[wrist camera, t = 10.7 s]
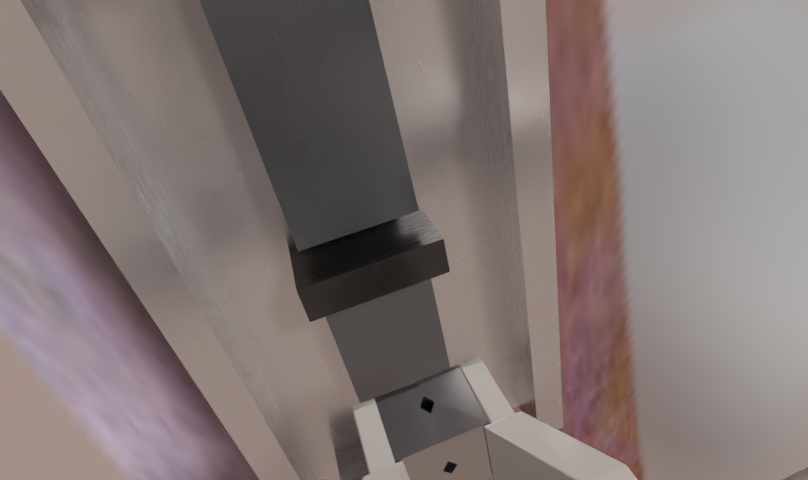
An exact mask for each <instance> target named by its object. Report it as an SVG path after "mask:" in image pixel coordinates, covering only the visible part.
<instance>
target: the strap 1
mask: <svg viewBox="0 0 808 480" xmlns="http://www.w3.org/2000/svg"><path fill="white" fill-rule="evenodd" d="M200 3H201V5H202V8H203V10H204V13H205V16H206V18H207V21H208V23H209V26H210V28H211V31H212V33H213V36H214V38H215V41H216V44H217V46H218V49H219V51H220V54H221V56H222V59H223V61H224V64H225V67H226V69H227V72H228V74H229V77H230V79H231V82H232V84H233V87H234V89H235V92H236V95H237V97H238V100H239V102H240V105H241V107H242V110H243V112H244V115H245V117H246V120H247V123H248V125H249V128H250V130H251V133H252V135H253V138H254V140H255V143H256V146H257V148H258V151H259V153H260V156H261V158H262V161H263V163H264V166H265V168H266V171H267V174H268V176H269V179H270V181H271V184H272V186H273V189H274V191H275V194H276V196H277V199H278V202H279V204H280V207H281V209H282V212H283V214H284V217H285V219H286V222H287V225H288V227H289V230H290V232H291V235H292V237H293V240H294V242H295V245H296V247H297V250H298V251H301V250H304V249H307V248H310V247H313V246H316V245H319V244H322V243H325V242H328V241H331V240H334V239H336V238H339V237H342V236H345V235H348V234H351V233H354V232H357V231H360V230H363V229H366V228H369V227H372V226H375V225H378V224H381V223H384V222H387V221H390V220H393V219H395V218H398V217H401V216H404V215H407V214H410V213H413V212H416V211H419V209H418V205H417V201H416V197H415V192H414V188H413V184H412V180H411V176H410V171H409V167H408V163H407V159H406V154H405V150H404V146H403V142H402V137H401V133H400V129H399V125H398V121H397V116H396V112H395V108H394V104H393V99H392V95H391V91H390V87H389V83H388V78H387V74H386V70H385V66H384V61H383V57H382V53H381V49H380V44H379V40H378V36H377V32H376V28H375V23H374V19H373V15H372V11H371V6H370V2H369V0H200Z"/></svg>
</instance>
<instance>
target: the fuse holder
mask: <svg viewBox="0 0 808 480" xmlns="http://www.w3.org/2000/svg"><path fill="white" fill-rule="evenodd" d="M369 2H370V6H371V11H372V15H373V19H374V23H375V28H376V32H377V36H378V40H379V44H380V49H381V53H382V57H383V61H384V66H385V70H386V74H387V78H388V83H389V87H390V91H391V95H392V99H393V104H394V108H395V112H396V116H397V121H398V125H399V129H400V133H401V137H402V142H403V146H404V150H405V154H406V159H407V163H408V167H409V171H410V176H411V180H412V184H413V188H414V192H415V197H416V201H417V205H418V209H419V211H416V212H413V213H410V214H407V215H404V216H401V217H398V218H395V219H393V220H390V221H387V222H384V223H381V224H378V225H375V226H372V227H369V228H366V229H363V230H360V231H357V232H354V233H351V234H348V235H345V236H342V237H339V238H336V239H334V240H331V241H328V242H325V243H322V244H319V245H316V246H313V247H310V248H307V249H304V250H301V251H298V250H297V247H296V245H295V242H294V240H293V237H292V235H291V232H290V230H289V227H288V225H287V222H286V219H285V217H284V214H283V212H282V209H281V207H280V204H279V202H278V199H277V196H276V194H275V191H274V189H273V186H272V184H271V181H270V179H269V176H268V174H267V171H266V168H265V166H264V163H263V161H262V158H261V156H260V153H259V151H258V148H257V146H256V143H255V140H254V138H253V135H252V133H251V130H250V128H249V125H248V123H247V120H246V117H245V115H244V112H243V110H242V107H241V105H240V102H239V100H238V97H237V95H236V92H235V89H234V87H233V84H232V82H231V79H230V77H229V74H228V72H227V69H226V67H225V64H224V61H223V59H222V56H221V54H220V51H219V49H218V46H217V44H216V41H215V38H214V36H213V33H212V31H211V28H210V26H209V23H208V21H207V18H206V16H205V13H204V10H203V8H202V5H201V3H200V0H0V90H1V92H2V93H3V95H4V96H5V98H6V99H7V101H8V102H9V104H10V105H11V107H12V108H13V110H14V111H15V113H16V114H17V116H18V117H19V119H20V120H21V122H22V123H23V125H24V126H25V128H26V129H27V131H28V132H29V134H30V135H31V137H32V138H33V140H34V141H35V143H36V144H37V146H38V147H39V149H40V150H41V152H42V153H43V155H44V156H45V158H46V159H47V161H48V162H49V164H50V165H51V167H52V168H53V170H54V171H55V173H56V174H57V176H58V177H59V179H60V180H61V182H62V183H63V185H64V186H65V188H66V189H67V191H68V192H69V194H70V195H71V197H72V198H73V200H74V201H75V203H76V204H77V206H78V207H79V209H80V210H81V212H82V213H83V215H84V216H85V218H86V219H87V221H88V222H89V224H90V225H91V227H92V228H93V230H94V231H95V233H96V235H97V236H98V238H99V239H100V241H101V242H102V244H103V245H104V247H105V248H106V250H107V251H108V253H109V254H110V256H111V257H112V259H113V260H114V262H115V263H116V265H117V266H118V268H119V269H120V271H121V272H122V274H123V275H124V277H125V278H126V280H127V281H128V283H129V284H130V286H131V287H132V289H133V290H134V292H135V293H136V295H137V296H138V298H139V299H140V301H141V302H142V304H143V305H144V307H145V308H146V310H147V311H148V313H149V314H150V316H151V317H152V319H153V320H154V322H155V323H156V325H157V326H158V328H159V329H160V331H161V332H162V334H163V335H164V337H165V338H166V340H167V341H168V343H169V344H170V346H171V347H172V349H173V350H174V352H175V353H176V355H177V356H178V358H179V359H180V361H181V362H182V364H183V365H184V367H185V368H186V370H187V371H188V373H189V374H190V376H191V377H192V379H193V380H194V382H195V383H196V385H197V386H198V388H199V389H200V391H201V392H202V394H203V396H204V397H205V399H206V400H207V402H208V403H209V405H210V406H211V408H212V409H213V411H214V412H215V414H216V415H217V417H218V418H219V420H220V421H221V423H222V424H223V426H224V427H225V429H226V430H227V432H228V433H229V435H230V436H231V438H232V439H233V441H234V442H235V444H236V445H237V447H238V448H239V450H240V451H241V453H242V454H243V456H244V457H245V459H246V460H247V462H248V463H249V465H250V466H251V468H252V469H253V471H254V472H255V474H256V475H257V477H258V478H259V480H362V478H363V476H366V475H368V474H369V471H368V467H367V463H366V460H365V456H364V452H363V448H362V444H361V441H360V437H359V433H358V429H357V426H356V422H355V418H354V414H353V406H354V405H357V404H359V403H360V402H359V399H358V397H357V394H356V392H355V389H354V387H353V384H352V382H351V379H350V377H349V374H348V372H347V369H346V367H345V364H344V362H343V359H342V357H341V354H340V352H339V349H338V347H337V344H336V342H335V339H334V337H333V335H332V332H331V330H330V327H329V325H328V322H327V320H326V316H329V315H332V314H334V313H337V312H340V311H343V310H345V309H348V308H351V307H354V306H356V305H359V304H362V303H365V302H368V301H370V300H373V299H376V298H379V297H381V296H384V295H387V294H390V293H393V292H395V291H398V290H401V289H404V288H406V287H409V286H412V285H415V284H417V283H420V282H423V281H426V280H429V279H431V281H432V286H433V290H434V295H435V299H436V304H437V309H438V313H439V318H440V322H441V327H442V332H443V336H444V341H445V345H446V350H447V355H448V359H449V364H450V367H453V366H455V365H457V366H458V365H459V364H461V363H464V362H466V361H469V360H471V359H474V358H476V357H479V358H480V359H482V361H483V362H484V364H485V365H486V367H487V369H488V370H489V372H490V374H491V375H492V377H493V378H494V380H495V382H496V383H497V385H498V387H499V388H500V390H501V391H502V393H503V395H504V396H505V398H506V400H507V401H508V403H509V405H510V406H511V408H512V409H513V408H515V407H518V406H519V408H520V409H521V411H522V412H524V413H526V414H528V415H530V416H532V417H534V418H536V419H538V420H540V421H542V422H544V423H546V424H547V425H549V426H551V427H553V428H555V429H557V430H558V429H560V428H563V413H562V388H561V364H560V340H559V316H558V292H557V268H556V244H555V220H554V196H553V172H552V148H551V123H550V99H549V75H548V51H547V27H546V3H545V0H369Z"/></svg>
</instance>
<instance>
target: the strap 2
mask: <svg viewBox="0 0 808 480" xmlns="http://www.w3.org/2000/svg"><path fill="white" fill-rule="evenodd" d="M326 320H327V322H328V325H329V327H330V330H331V332H332V335H333V337H334V339H335V342H336V344H337V347H338V349H339V352H340V354H341V357H342V359H343V362H344V364H345V367H346V369H347V372H348V374H349V377H350V379H351V382H352V384H353V387H354V389H355V392H356V394H357V397H358V399H359V402H360V403H362V402H364V401H367V400H370V399H372V398H375V397H377V396H380V395H383V394H386V393H388V392H391V391H394V390H397V389H399V388H402V387H405V386H408V385H410V384H413V383H416V381H418V380H421V379H423V378H426V377H428V376H431V375H433V374H436V373H438V372H440V371H443V370H445V369H448V368H450V364H449V359H448V355H447V350H446V345H445V341H444V336H443V332H442V327H441V322H440V318H439V313H438V309H437V304H436V299H435V295H434V290H433V286H432V281H431V279H429V280H426V281H423V282H420V283H417V284H415V285H412V286H409V287H406V288H404V289H401V290H398V291H395V292H393V293H390V294H387V295H384V296H381V297H379V298H376V299H373V300H370V301H368V302H365V303H362V304H359V305H356V306H354V307H351V308H348V309H345V310H343V311H340V312H337V313H334V314H332V315H329V316H326Z"/></svg>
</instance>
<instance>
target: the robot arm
mask: <svg viewBox="0 0 808 480" xmlns="http://www.w3.org/2000/svg"><path fill="white" fill-rule="evenodd" d="M353 414H354V418H355V422H356V426H357V429H358V433H359V437H360V441H361V444H362V448H363V452H364V456H365V460H366V463H367V467H368V471H369V474H368V475H366V476H363V478H362V480H484V479H487V478H489V477H492V476H493V478H494V479H496V480H637V479H636V477H635V476H634V475H633V473H632V472H631V471H630V469H629V468H628V467H627V465H625V464H623V463H621V462H619V461H617V460H615V459H613V458H611V457H609V456H608V455H606V454H604V453H602V452H600V451H598V450H596V449H594V448H592V447H590V446H588V445H586V444H584V443H582V442H580V441H578V440H577V439H575V438H573V437H571V436H569V435H567V434H565V433H563V432H561V431H559V430H557V429H555V428H553V427H551V426H549V425H547V424H546V423H544V422H542V421H540V420H538V419H536V418H534V417H532V416H530V415H528V414H526V413H524V412H522V411H519V412H517V413H514V411H513V409H512V408H511V406H510V405H509V403H508V401H507V400H506V398H505V396H504V395H503V393H502V391H501V390H500V388H499V387H498V385H497V383H496V382H495V380H494V378H493V377H492V375H491V374H490V372H489V370H488V369H487V367H486V365H485V364H484V362H483V361H482V359H480V358H479V357H476V358H474V359H471V360H469V361H466V362H464V363H461V364H459V365H458V366H457V365H455V366H453V367H450V368H448V369H445V370H443V371H440V372H438V373H436V374H433V375H431V376H428V377H426V378H423V379H421V380H418V381H416V383H413V384H410V385H408V386H405V387H402V388H399V389H397V390H394V391H391V392H388V393H386V394H383V395H380V396H377V397H375V398H372V399H370V400H367V401H364V402H362V403H359V404H357V405H354V406H353ZM782 480H808V467H807V468H805V469H803V470H801V471H799V472H797V473H795V474H793V475H791V476H789V477H786V478H785V479H782Z"/></svg>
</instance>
